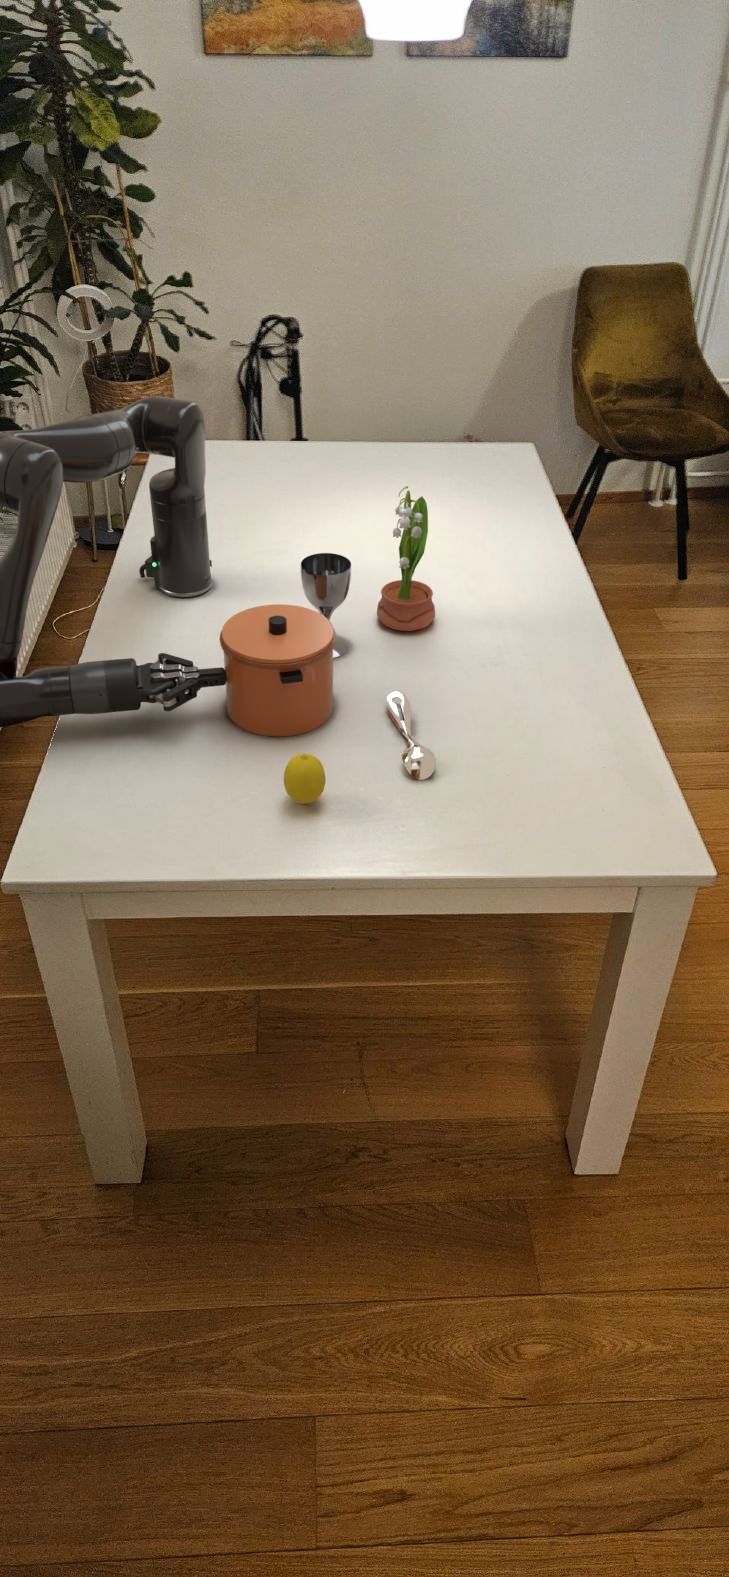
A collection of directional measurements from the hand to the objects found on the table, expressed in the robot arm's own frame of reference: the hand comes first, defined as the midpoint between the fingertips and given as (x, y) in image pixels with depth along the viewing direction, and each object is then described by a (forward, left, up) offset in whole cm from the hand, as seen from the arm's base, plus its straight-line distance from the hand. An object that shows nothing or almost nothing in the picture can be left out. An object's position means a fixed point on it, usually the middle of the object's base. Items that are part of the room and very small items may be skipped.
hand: (225, 676), depth 161 cm
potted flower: (+17, +35, -7) cm, 40 cm away
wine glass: (+7, +23, -7) cm, 26 cm away
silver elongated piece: (+27, +3, -7) cm, 28 cm away
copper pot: (+7, +4, -7) cm, 10 cm away
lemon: (+18, -17, -7) cm, 26 cm away
